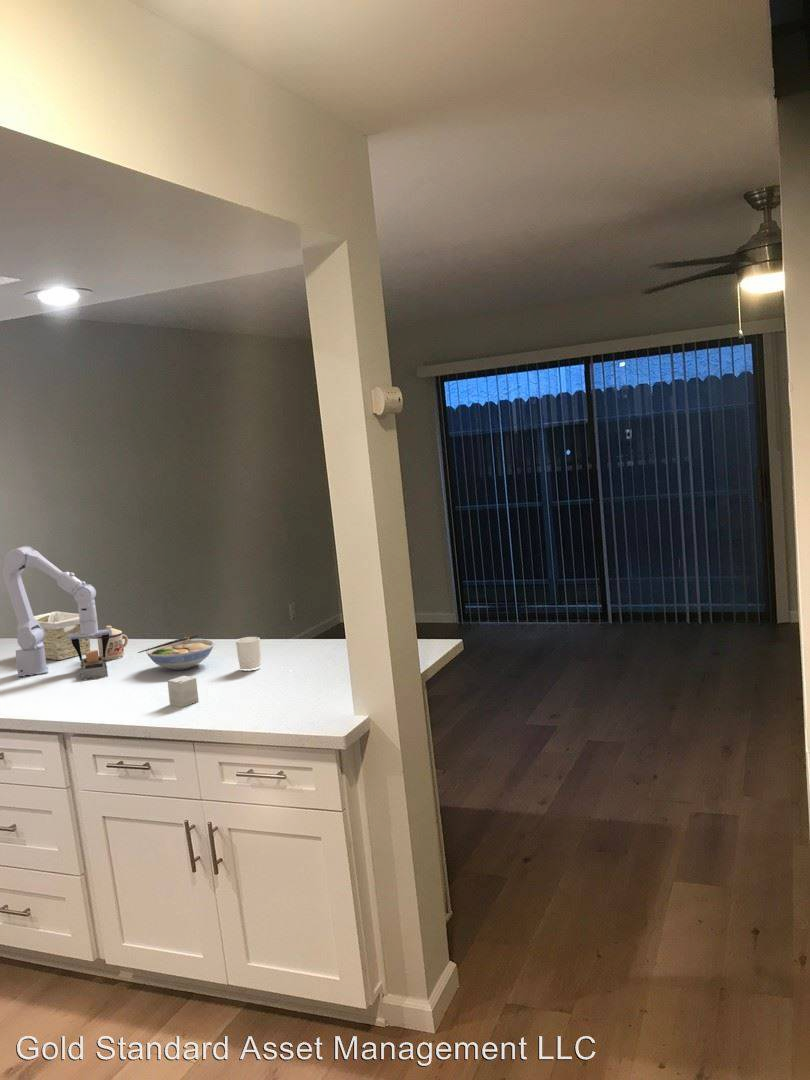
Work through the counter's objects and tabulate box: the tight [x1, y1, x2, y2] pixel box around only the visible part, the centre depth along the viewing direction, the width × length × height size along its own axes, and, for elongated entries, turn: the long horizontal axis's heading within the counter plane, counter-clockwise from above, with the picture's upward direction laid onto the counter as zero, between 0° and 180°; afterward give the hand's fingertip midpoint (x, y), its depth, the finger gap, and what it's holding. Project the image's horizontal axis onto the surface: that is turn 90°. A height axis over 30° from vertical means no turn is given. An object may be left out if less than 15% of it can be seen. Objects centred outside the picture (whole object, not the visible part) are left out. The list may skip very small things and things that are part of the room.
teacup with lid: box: [96, 625, 129, 661], centre depth 332 cm, size 12×9×12 cm
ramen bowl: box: [137, 634, 215, 671], centre depth 308 cm, size 25×23×8 cm
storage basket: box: [33, 610, 91, 661], centre depth 343 cm, size 24×16×15 cm
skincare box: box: [167, 675, 200, 708], centre depth 264 cm, size 6×6×7 cm
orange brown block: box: [85, 649, 99, 663], centre depth 316 cm, size 4×4×6 cm
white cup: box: [235, 636, 262, 670], centre depth 298 cm, size 8×8×10 cm
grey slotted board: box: [80, 655, 109, 681], centre depth 311 cm, size 20×8×3 cm, turn 21°
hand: (92, 658), depth 316 cm, fingers open, 7 cm apart
